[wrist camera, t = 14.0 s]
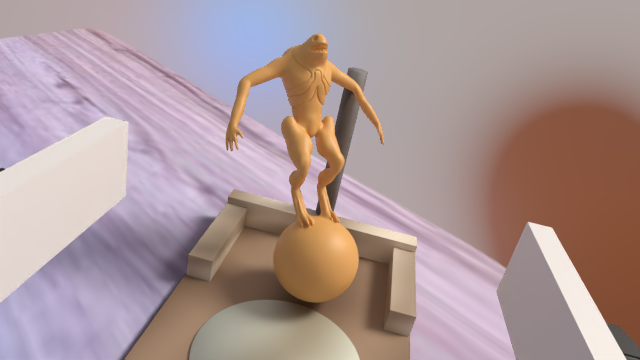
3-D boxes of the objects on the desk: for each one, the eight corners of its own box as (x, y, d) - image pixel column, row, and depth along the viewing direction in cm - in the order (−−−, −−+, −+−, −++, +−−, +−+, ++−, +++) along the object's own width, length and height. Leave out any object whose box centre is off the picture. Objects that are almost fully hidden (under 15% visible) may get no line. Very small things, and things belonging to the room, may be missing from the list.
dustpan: (102, 397, 17) (105, 123, 13) (231, 214, 30) (256, 43, 26) (406, 487, 17) (521, 230, 12) (407, 261, 29) (464, 94, 25)
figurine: (248, 340, 20) (272, 30, 16) (199, 272, 24) (209, 21, 21) (404, 299, 24) (449, 49, 21) (336, 248, 29) (364, 37, 25)
